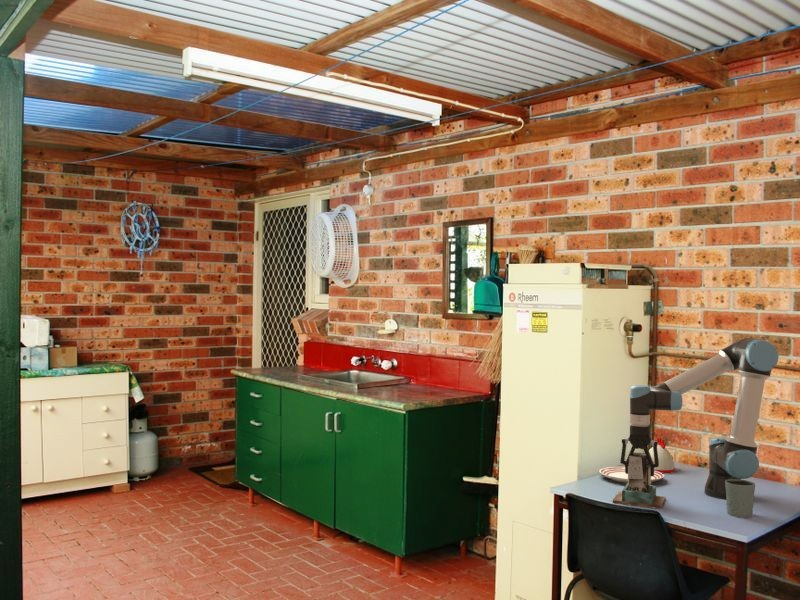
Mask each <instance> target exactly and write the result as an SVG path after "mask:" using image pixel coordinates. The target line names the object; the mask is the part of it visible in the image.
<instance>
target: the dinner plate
mask: <svg viewBox="0 0 800 600" xmlns="http://www.w3.org/2000/svg"><path fill="white" fill-rule="evenodd" d="M598 471H599V474H601V475H602V476H603V477H605V478H608V479H611V480H612V481H614V482H617V481H618V483H622V482H623V484H627V483H628V474H626V473H625V466H609V467H603V468H601V469H599V470H598ZM664 477H665V474H662V473H660V472H657V471H654V476H651V483H653V482H657V481H659V480H661V479H663V478H664Z"/></svg>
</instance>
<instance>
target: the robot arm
mask: <svg viewBox="0 0 800 600" xmlns="http://www.w3.org/2000/svg"><path fill="white" fill-rule="evenodd" d="M778 362H779V352H778V349H777V348H776V347H775V345H774V344H773V343H771V342H770V341H768V340H765V339H762V338H761V339H759V338H750V337H749V338H748V337H746V338H741V339H740V340H739V339H738V340H736V341H735V342H734V343H731V344H730V345H727V346H726V347H724V348H722V349H720V350H719V352H718V354H716V355H714V356H712V357H711V358H709V359H707V360H704V361H703V362H700V363H699V364H697V365H695V366H693V367H691V368H689V369H687V370H686V371H683V372H681V373H679V374H678V375H675V376H673V377H672V378H670V379H668V380H666V381H664V382H662V383H660V384H658V385H652V386H650V385H643V384H635V385H632V386H631V387H630V393H629V424H630V425H629V436H628V437H626V438H625V437H623V438H622V439H621V444H622V447H621V456H620V460H619V461H620V464H621V465H624V467H625V473H626V474H628V483H629V456H630V455H633V453H634V452H635V450H638V449H640V450H643V451H644V452H643V453H645V454H646V456H647V459H648V462H649V465H650V467H649V468H648V485H652V482H651V476H654V468H655V467H658V466H659V459H658V451H657V445H658V441H654V439H652V438H651V426H650V425H651V411H671V412H673V411H680V410H682V408H683V394H685V393H687V392H690V391H691V390H693V389H696V388H697V387H699V386H701V385H703V384H706V383H707V382H709V381H711V380H714V379H715V378H717V377H719V376H721V375H723V374H725V373H727V372H734V371H737V372H738V374H740V378H739V379H740V380H739V386H738V391H737V398H736V402H735V407H734V413H733V418H732V419H733V420H732V425H731V428H730V429H731V430H730V435H729V436H728V437H712V438H710V440H709V444H708V448H709V449H708V450H709V451H708V453H709V455H708V456H709V457H708V459H709V461H708V462H709V463H708V464H709V467H708V469H709V472H708V473H709V474H708V476H707V479H706V482H705V484H704V494H705V495H708V496H710V497H712V498H713V497H714V498H718V499H725V500H726V486H725V480H728V479H739V480H747V479H750V478H752V477H753V476H754V475H755V474H757V473H758V470H759V468H760V462H759V461H760V460H759V458H758V456H757V450H758V445H757V443H756V441H755V437H756V431H757V427H758V421H759V416H760V410H761V405H762V400H763V399H762V398H763V393H764V389H765V388H764V387H765V384H766V380H768V379H769V378H771V374H772V370H773V369H774V368H775V367H776V366H777V365H778ZM628 442H629V443H630V444H631V449H630V451H629V453H628V455H627V458H626V450H627V444H628ZM650 443H651V446H652V447H653V451H654V460H655V464H654V463H653V461H652V458H651V455H650V453H649V450H650V449H649V445H650Z"/></svg>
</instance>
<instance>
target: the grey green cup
mask: <svg viewBox="0 0 800 600" xmlns="http://www.w3.org/2000/svg"><path fill="white" fill-rule="evenodd" d="M725 486H726V499H725V500H726V502H725V503H726V513H727V515H729V516H731V517H735V518H742V519H749V518H752V517H753V513H754V510H753V508H754V503H755V502H754V500H755V499H754V498H755V490H756V482H754V481H750V480H747V479H741V480H739V479H728V480H725Z"/></svg>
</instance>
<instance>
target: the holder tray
mask: <svg viewBox="0 0 800 600" xmlns="http://www.w3.org/2000/svg"><path fill="white" fill-rule="evenodd" d="M665 501H666V496H664V495H662V496H661V495H657V486H656V485H652V484H651V485H650V493H644V492H635V491H629V483H625V486H624V487H623V489H622V490H621V491H619V490H618V492H617V493H616V495H615V496H614V498H613V499H612V504H619V503H621V504H620V505H627V504H631V505H630V506H635V505H640V506H639V507H643V506H646V508H652V507H655V508H654V509H660V508H661V509H662V507H663V506H664V504H665ZM663 503H664V504H663ZM662 505H663V506H662Z"/></svg>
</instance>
